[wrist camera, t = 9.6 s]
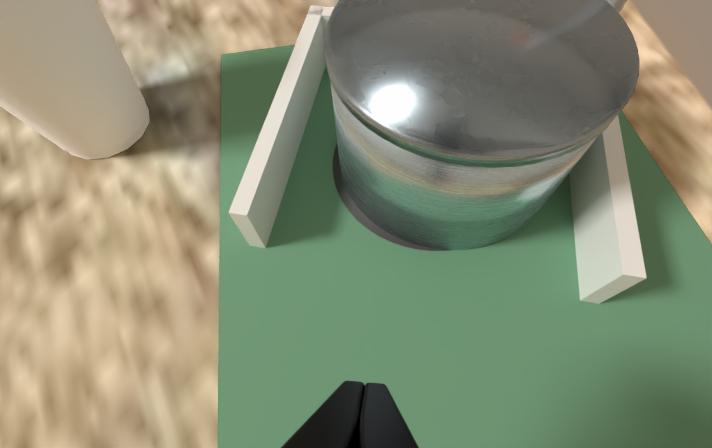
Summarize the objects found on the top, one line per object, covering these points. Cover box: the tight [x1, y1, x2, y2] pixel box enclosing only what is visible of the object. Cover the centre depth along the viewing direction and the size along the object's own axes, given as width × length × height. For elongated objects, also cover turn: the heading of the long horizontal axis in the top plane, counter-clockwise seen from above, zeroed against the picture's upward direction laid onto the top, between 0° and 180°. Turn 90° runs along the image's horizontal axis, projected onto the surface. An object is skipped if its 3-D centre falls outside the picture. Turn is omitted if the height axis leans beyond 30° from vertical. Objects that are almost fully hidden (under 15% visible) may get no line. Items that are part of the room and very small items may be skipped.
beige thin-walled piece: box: [228, 0, 647, 304], centre depth 20 cm, size 22×20×16 cm
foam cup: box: [0, 0, 150, 160], centre depth 23 cm, size 10×9×13 cm
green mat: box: [218, 45, 712, 448], centre depth 24 cm, size 35×28×1 cm
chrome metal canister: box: [325, 0, 639, 250], centre depth 22 cm, size 14×14×9 cm
